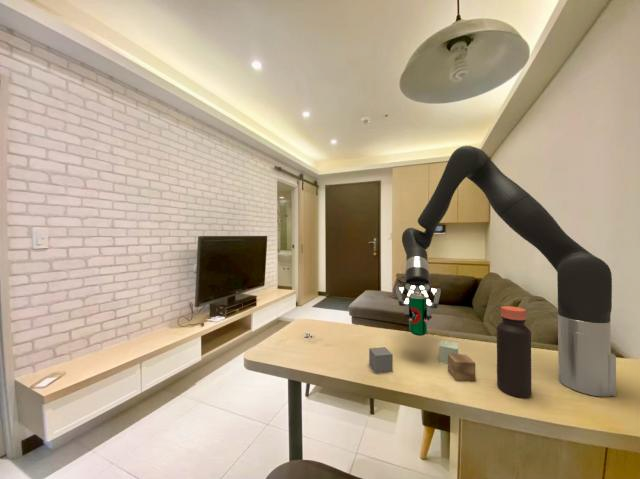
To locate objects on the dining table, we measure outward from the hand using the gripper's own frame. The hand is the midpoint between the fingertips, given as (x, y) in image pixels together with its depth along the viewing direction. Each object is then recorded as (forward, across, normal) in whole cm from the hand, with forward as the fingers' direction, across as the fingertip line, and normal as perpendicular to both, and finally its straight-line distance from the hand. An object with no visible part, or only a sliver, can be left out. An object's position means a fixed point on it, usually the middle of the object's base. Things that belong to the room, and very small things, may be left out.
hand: (418, 317), depth 77 cm
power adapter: (+4, -38, +15) cm, 41 cm away
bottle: (+14, +22, +6) cm, 27 cm away
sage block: (+6, +8, +14) cm, 17 cm away
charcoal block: (+14, -10, +5) cm, 18 cm away
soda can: (+2, 0, +5) cm, 6 cm away
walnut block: (+12, +11, +8) cm, 18 cm away
